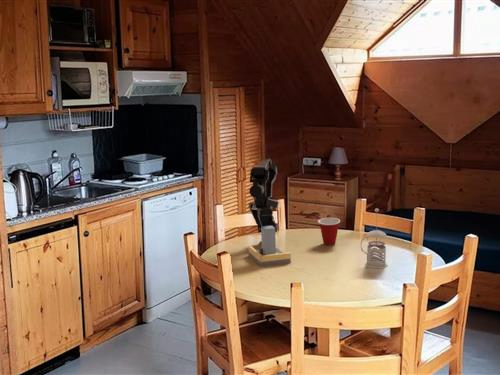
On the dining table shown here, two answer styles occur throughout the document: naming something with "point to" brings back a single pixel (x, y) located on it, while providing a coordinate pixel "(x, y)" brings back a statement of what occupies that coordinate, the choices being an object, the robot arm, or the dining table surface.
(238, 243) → the dining table surface
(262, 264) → the wooden frame
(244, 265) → the dining table surface
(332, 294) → the dining table surface
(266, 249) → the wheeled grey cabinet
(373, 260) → the french press
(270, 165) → the robot arm
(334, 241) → the plastic cup
